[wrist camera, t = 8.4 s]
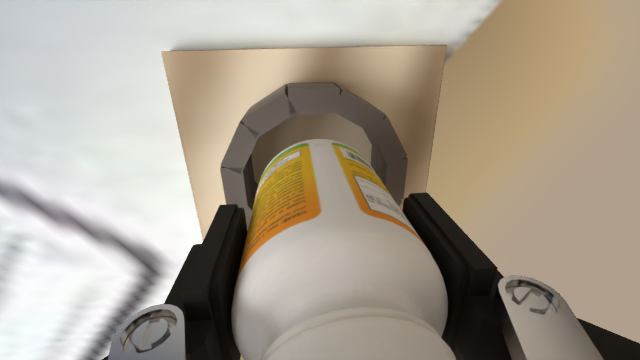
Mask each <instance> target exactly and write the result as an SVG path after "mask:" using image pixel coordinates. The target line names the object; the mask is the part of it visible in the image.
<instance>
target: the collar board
mask: <svg viewBox="0 0 640 360" xmlns="http://www.w3.org/2000/svg"><path fill="white" fill-rule="evenodd" d="M446 46H447V45H417V46H373V47H330V48H286V49H243V50H199V51H161V53H162V57H163V62H164V66H165V71H166V75H167V80H168V84H169V89H170V93H171V98H172V102H173V107H174V111H175V116H176V120H177V125H178V129H179V134H180V138H181V143H182V147H183V152H184V156H185V161H186V165H187V170H188V174H189V179H190V183H191V188H192V192H193V197H194V201H195V206H196V210H197V215H198V219H199V224H200V228H201V233H202V237H203V241H204V239H205V236H206V234H207V232H208V230H209V227H210V225H211V223H212V221H213V219H214V216H215V214H216V212H217V210H218V208H219V206H220V205H226V204H237V205H238V207H239V208H244V211H245V218H246V225H247V231H248V228H249V224H250V219H251V215H252V210H253V206H254V202H255V197H256V193H257V188H258V185H259V182H260V179H261V176H262V174H263V172H264V170H265V168H266V167H267V165H268V164H269V163H270V161H271V160H272V159H273V158H274V157H275V156H276V155H278V154H279V153H280V152H281V151H283V150H284V149H286V148H288V147H290V146H292V145H294V144H296V143H299V142H302V141H306V140H312V139H329V140H334V141H338V142H341V143H343V144H346V145H348V146H350V147H351V148H353V149H355V150H356V151H357V152H359V153H360V154H361V155H362V156H363V157H364V158H365V159H366V160H367V162H368V163H369V164H370V165H371V167H372V168H373V169H374V171H375V172H376V174H377V175H378V177H379V178H380V180H381V181H382V183H383V184H384V186H385V187H386V189H387V190H388V191H389V193H390V194H391V196H392V197H393V199H394V200H395V202H396V203H397V205H398V206H399V208H400V209H401V211H402V210H403V202H404V198H408V196H409V194H410V193H426V186H427V179H428V172H429V165H430V159H431V152H432V145H433V137H434V131H435V124H436V116H437V110H438V102H439V95H440V88H441V81H442V74H443V67H444V60H445V53H446Z"/></svg>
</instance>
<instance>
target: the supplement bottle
mask: <svg viewBox="0 0 640 360" xmlns="http://www.w3.org/2000/svg"><path fill="white" fill-rule="evenodd" d="M447 315H448V297H447V291H446V287H445V283H444V280H443V277H442V274H441V272H440V270H439V267H438V266H437V264H436V262H435V261H434V259H433V257H432V255H431V253H430V252H429V250H428V249H427V247H426V246H425V244H424V243H423V241H422V240H421V238H420V237H419V235H418V234H417V233H416V231H415V230H414V228H413V227H412V225H411V224H410V222H409V221H408V219H407V218H406V216H405V215H404V214H403V212H402V211H401V209H400V208H399V206H398V205H397V203H396V202H395V200H394V199H393V197H392V196H391V194H390V193H389V191H388V190H387V189H386V187H385V186H384V184H383V183H382V181H381V180H380V178H379V177H378V175H377V174H376V172H375V171H374V169H373V168H372V167H371V165H370V164H369V163H368V162H367V160H366V159H365V158H364V157H363V156H362V155H361V154H360V153H359V152H357V151H356V150H355V149H353V148H351V147H350V146H348V145H346V144H343V143H341V142H338V141H334V140H329V139H312V140H306V141H302V142H299V143H296V144H294V145H292V146H290V147H288V148H286V149H284V150H283V151H281V152H280V153H279V154H278V155H276V156H275V157H274V158H273V159H272V160H271V161H270V163H269V164H268V165H267V167H266V168H265V170H264V172H263V174H262V176H261V179H260V182H259V185H258V188H257V193H256V197H255V202H254V206H253V210H252V215H251V219H250V224H249V228H248V232H247V237H246V241H245V245H244V249H243V253H242V258H241V262H240V267H239V271H238V275H237V280H236V284H235V290H234V295H233V302H232V309H231V324H232V331H233V336H234V340H235V343H236V346H237V348H238V350H239V352H240V354H241V355H242V357H243V358H244V360H456V358H455V355H454V353H453V352H452V350H451V349H450V347H449V346H448V345H447V344H446V343H445V342H444V340H443V339H442V338H441V337H442V334H443V331H444V329H445V325H446V320H447Z"/></svg>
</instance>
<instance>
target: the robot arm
mask: <svg viewBox="0 0 640 360" xmlns="http://www.w3.org/2000/svg"><path fill="white" fill-rule="evenodd" d="M402 212H403V214H404V215H405V216H406V218H407V219H408V221H409V222H410V224H411V225H412V227H413V228H414V230H415V231H416V233H417V234H418V235H419V237H420V238H421V240H422V241H423V243H424V244H425V246H426V247H427V249H428V250H429V252H430V253H431V255H432V257H433V259H434V261H435V262H436V264H437V266H438V267H439V270H440V272H441V274H442V277H443V280H444V283H445V287H446V291H447V297H448V315H447V320H446V325H445V329H444V331H443V334H442V337H441V338H442V339H443V340H444V342H445V343H446V344H447V345H448V346H449V347H450V349H451V350H452V352H453V353H454V355H455V358H456V360H640V344H639V343H637V342H635V341H632V340H630V339H627V338H625V337H622V336H620V335H618V334H615V333H613V332H610V331H607V330H605V329H603V328H600V327H598V326H595V325H593V324H591V323H588V322H586V321H583V320H581V319H578V318H576V316H575V315H574V313H573V312H572V310H571V309H570V307H569V306H568V304H567V302H566V301H565V300H564V299H563V297H561V295H560V294H559V293H557V292H556V291H555V290H554V289H553V288H551V287H550V286H548V285H546V284H544V283H542V282H541V281H538V280H535V279H533V278H529V277H525V276H517V275H511V276H507V277H503V276H502V275H501V273H500V272H499V271H498V270H497V267H496V266H495V265H494V264H493V263H492V262H491V261H490V259H489V258H488V257H487V256H486V255H485V254H484V253H483V252H482V251H481V250H480V249H479V248H478V247H477V246H476V245H475V243H474V242H473V241H472V240H471V239H470V238H469V237H468V236H467V235H466V234H465V233H464V232H463V231H462V229H461V228H460V227H459V226H458V225H457V224H456V223H455V222H454V221H453V220H452V219H451V218H450V217H449V215H448V214H447V213H446V212H445V211H444V210H443V209H442V208H441V207H440V206H439V205H438V204H437V203H436V201H434V199H433V198H432V197H431V196H430V195H429V194H428V193H410V194H409V196H408V198H404V202H403V210H402ZM247 232H248V231H247V225H246V218H245V211H244V208H239V207H238V205H237V204H226V205H220V206H219V208H218V210H217V212H216V214H215V216H214V219H213V221H212V223H211V225H210V227H209V230H208V232H207V234H206V236H205V239H204V241H203V243H202V244H196V245H193V247H192V248H191V250H190V252H189V254H188V256H187V258H186V260H185V262H184V265H183V267H182V269H181V271H180V273H179V275H178V277H177V279H176V281H175V283H174V285H173V287H172V289H171V291H170V293H169V295H168V297H167V299H166V301H165V303H164V304H160V305H156V306H151V307H149V308H146V309H144V310H141V311H140V312H138V313H136V314H135V315H133V316H131V317H130V318H129V319H128V320H127V321H126V322H124V323H123V324H122V325H121V327H120V328H119V329H118V331H117V332H116V333H115V336H114V338H113V340H112V343H111V348H110V352H109V355H108V356H107V357H105V358H104V359H102V360H240V355H241V354H240V352H239V350H238V348H237V346H236V343H235V340H234V336H233V331H232V324H231V309H232V302H233V295H234V290H235V284H236V280H237V275H238V271H239V267H240V262H241V258H242V253H243V249H244V245H245V241H246V237H247Z"/></svg>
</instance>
